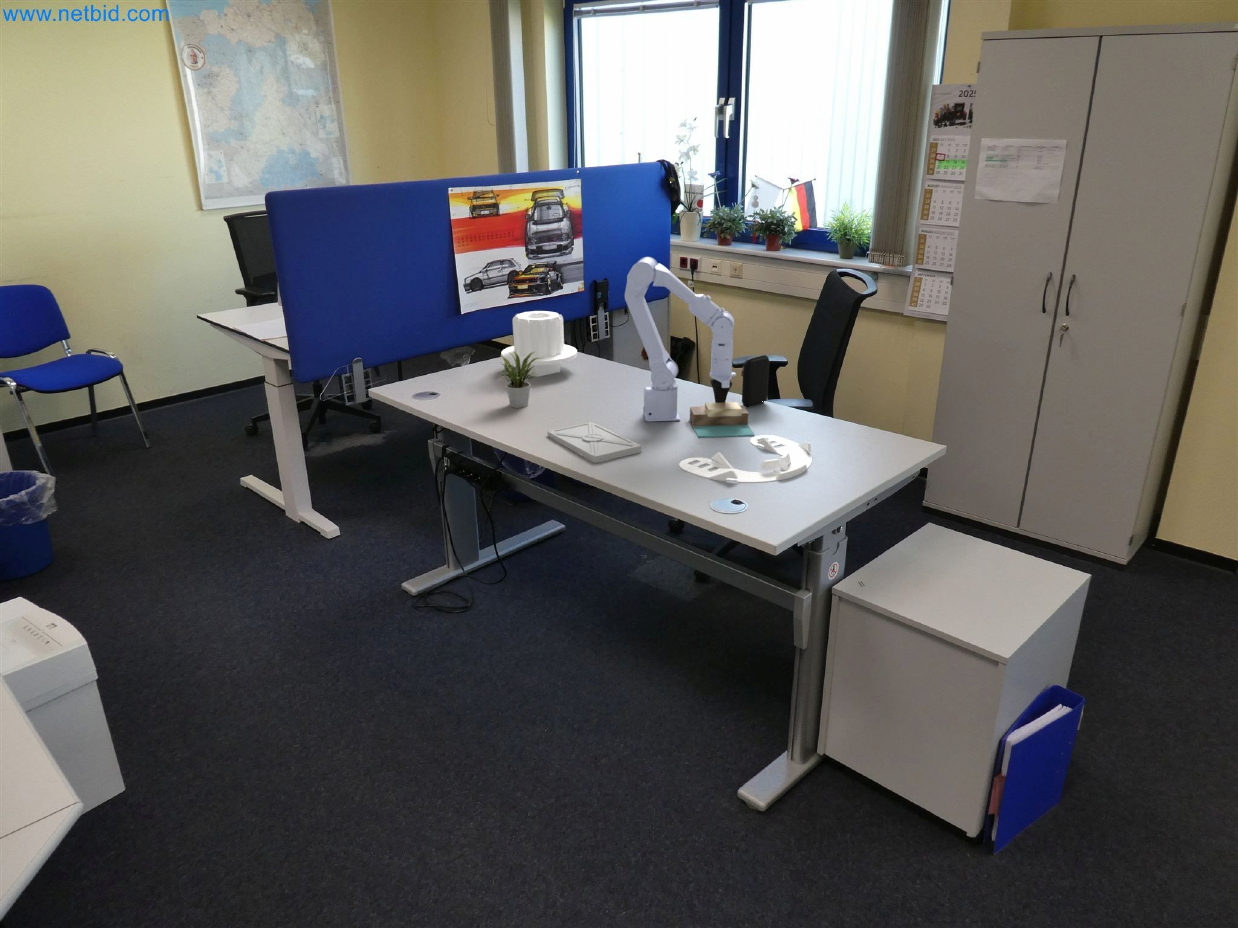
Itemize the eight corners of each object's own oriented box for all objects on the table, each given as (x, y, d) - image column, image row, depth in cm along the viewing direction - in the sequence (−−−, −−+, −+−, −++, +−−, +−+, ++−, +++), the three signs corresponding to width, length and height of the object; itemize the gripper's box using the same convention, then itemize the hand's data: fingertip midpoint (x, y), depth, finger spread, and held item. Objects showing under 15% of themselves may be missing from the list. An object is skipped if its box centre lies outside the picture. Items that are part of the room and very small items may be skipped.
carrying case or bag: (744, 410, 246) (746, 361, 241) (736, 408, 249) (738, 358, 243) (769, 403, 252) (772, 354, 247) (761, 401, 255) (764, 352, 249)
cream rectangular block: (708, 416, 231) (708, 409, 230) (704, 409, 236) (704, 402, 235) (741, 415, 231) (741, 408, 230) (737, 408, 237) (737, 402, 236)
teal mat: (698, 437, 226) (698, 436, 226) (693, 427, 233) (693, 426, 233) (754, 435, 227) (754, 434, 226) (748, 426, 234) (748, 424, 234)
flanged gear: (549, 358, 303) (547, 304, 296) (592, 372, 285) (591, 316, 278) (488, 370, 288) (484, 314, 282) (530, 386, 271) (527, 327, 264)
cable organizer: (767, 434, 229) (767, 422, 228) (841, 459, 212) (842, 446, 210) (670, 466, 208) (671, 453, 207) (744, 497, 191) (744, 483, 190)
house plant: (551, 398, 259) (549, 345, 253) (543, 412, 246) (541, 357, 240) (505, 397, 260) (502, 344, 254) (494, 411, 248) (491, 356, 242)
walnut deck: (693, 426, 234) (693, 414, 232) (689, 418, 240) (690, 406, 239) (747, 425, 235) (748, 413, 233) (742, 417, 241) (743, 405, 240)
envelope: (591, 428, 235) (547, 438, 228) (591, 421, 234) (547, 430, 227) (641, 452, 216) (595, 464, 209) (641, 444, 216) (594, 455, 209)
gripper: (741, 364, 226) (739, 413, 231) (731, 350, 239) (729, 397, 244) (715, 365, 225) (713, 414, 230) (706, 351, 239) (704, 398, 244)
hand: (719, 405), depth 237 cm, fingers closed
